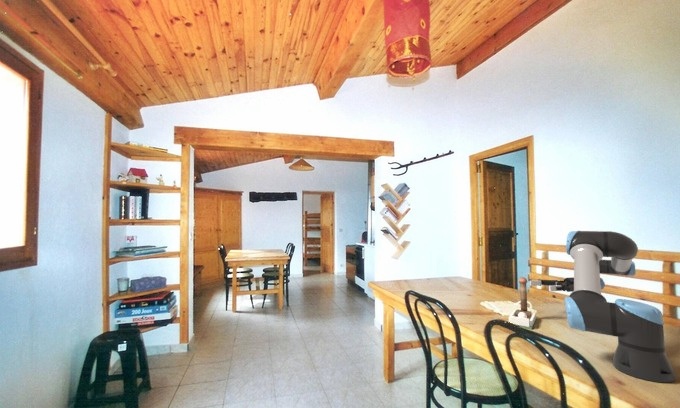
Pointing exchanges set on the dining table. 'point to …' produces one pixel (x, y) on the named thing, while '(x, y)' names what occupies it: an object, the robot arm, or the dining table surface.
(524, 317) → the ball
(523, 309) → the brown upright rod
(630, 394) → the dining table surface
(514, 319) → the white open tray
